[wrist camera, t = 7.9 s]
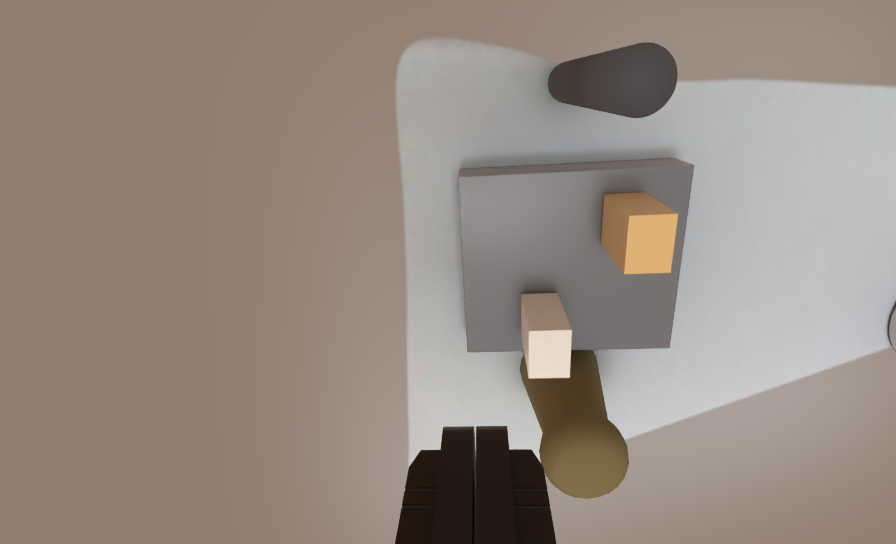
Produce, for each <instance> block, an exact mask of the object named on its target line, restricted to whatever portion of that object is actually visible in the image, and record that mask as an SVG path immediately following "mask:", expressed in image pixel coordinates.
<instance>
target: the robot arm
mask: <svg viewBox="0 0 896 544" xmlns="http://www.w3.org/2000/svg"><path fill="white" fill-rule="evenodd" d="M889 334H890V341H891V343H892V346H893V349H894V350H895V351H896V308H895V310H894V312H893V314H892V317H891V322H890V326H889ZM395 544H556V539H555V533H554V527H553V521H552V516H551V510H550V504H549V497H548V492H547V485H546V480H545V474H544V468H543V466H542V464H541V463H540V461H539V460H538V459H537V457H536V456H535V454H534V453H533V451H532V450H509V443H508V431H507V426H477V427H476V452H475V433H474V427H443V433H442V442H441V450H421V451H420V452H419V454H418V455H417V457H416V458H415V460H414V461H413V462H412V464H411V465H410V467H409V470H408V476H407V481H406V486H405V492H404V497H403V503H402V509H401V514H400V519H399V525H398V530H397V536H396V541H395Z"/></svg>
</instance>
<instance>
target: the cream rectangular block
mask: <svg viewBox="0 0 896 544" xmlns="http://www.w3.org/2000/svg"><path fill="white" fill-rule="evenodd" d="M521 337H522V343H523V349H524V355H525V360H526V366H527V372H528V378H570V362H571V339H572V329H571V326H570V324H569V321H568V319H567V316H566V313H565V311H564V308H563V306H562V303H561V300H560V298H559V295H558V293H539V294H521Z"/></svg>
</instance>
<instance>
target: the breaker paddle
mask: <svg viewBox="0 0 896 544" xmlns="http://www.w3.org/2000/svg"><path fill="white" fill-rule="evenodd" d="M677 220H678V213H676V212H675V211H673V210H672V209H670V208H669V207H667V206H665V205H664V204H662V203H661V202H659V201H658V200H656V199H655V198H653V197H652V196H650V195H649V194H647V193H645V192H639V193H617V194H604V205H603V221H602V236H601V245H602V246H603V247H604V249H605V250H606V251H607V253H608V254H609V255H610V257H611V258H612V259H613V260H614V262H615V263H616V264H617V266H618V267H619V268H620V270H621V271H622V272H623V273H624V274H646V273H671V267H672V259H673V251H674V243H675V235H676V227H677Z"/></svg>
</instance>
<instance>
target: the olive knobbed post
mask: <svg viewBox="0 0 896 544" xmlns="http://www.w3.org/2000/svg"><path fill="white" fill-rule="evenodd" d="M520 372H521V376H522V380H523V383H524V385H525V388H526V390H527V393H528V396H529V398H530V401H531V403H532V406H533V409H534V411H535V414H536V416H537V419H538V422H539V424H540V427H541V429H542V432H543V434H542V439H541V444H540V450H539V453H540V459H541V464H542V466H543V468H544V472H545V474H546V476H547V477H548V479H549V480H550V482H551V483H552V484H553V485H554V486H555V487H557V488H558V489H559V490H561V491H562V492H563V493H565V494H567V495H570V496H573V497H577V498H586V499H587V498H595V497H600V496H602V495H605V494H608V493H610V492H611V491H612V490H614V489H615V488H617V487H618V486H619V484H620V483H621V482H622V480H623V479H624V477H625V474H626V472H627V468H628V464H629V459H628V450H627V445H626V443H625V440H624V438H623V437H622V435H621V433H620V432H619V430H618V429H617V428H616V427H615V425H614V424H613V423H611V422H610V421H609V420H608V418H607V413H606V407H605V402H604V397H603V391H602V386H601V381H600V375H599V370H598V365H597V360H596V356H595V354H594V352H593V351H592V350H571V362H570V378H528V372H527V366H526V360H525V355H524V356H523V358H522V360H521V366H520Z"/></svg>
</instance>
